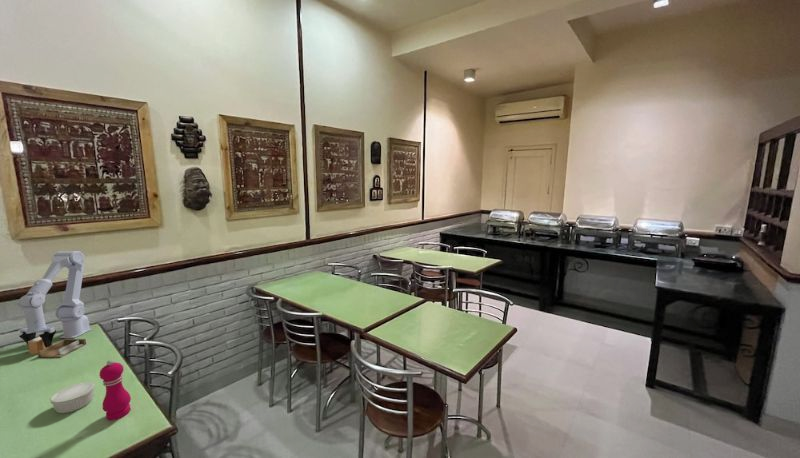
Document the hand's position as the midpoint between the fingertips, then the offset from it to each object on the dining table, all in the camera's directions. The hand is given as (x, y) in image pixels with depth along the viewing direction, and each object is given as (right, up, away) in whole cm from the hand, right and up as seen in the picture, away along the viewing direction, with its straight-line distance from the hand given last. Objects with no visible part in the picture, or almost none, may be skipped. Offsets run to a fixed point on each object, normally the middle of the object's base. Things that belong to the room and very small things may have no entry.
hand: (40, 346), depth 151 cm
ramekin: (+54, -8, -37) cm, 66 cm away
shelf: (+11, -2, 0) cm, 11 cm away
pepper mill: (+74, -8, -42) cm, 85 cm away
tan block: (0, -2, 0) cm, 2 cm away
